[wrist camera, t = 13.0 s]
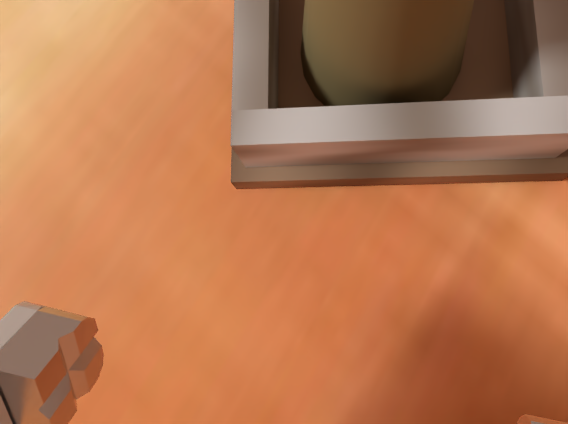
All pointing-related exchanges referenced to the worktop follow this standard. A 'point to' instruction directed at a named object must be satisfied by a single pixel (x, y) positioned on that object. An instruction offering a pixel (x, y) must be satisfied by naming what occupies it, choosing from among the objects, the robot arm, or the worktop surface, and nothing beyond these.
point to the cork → (383, 49)
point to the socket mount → (404, 107)
